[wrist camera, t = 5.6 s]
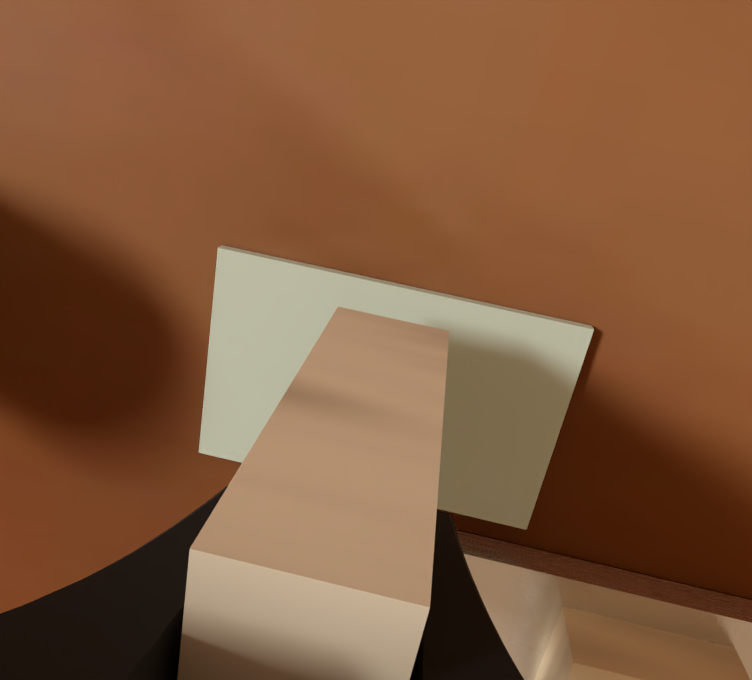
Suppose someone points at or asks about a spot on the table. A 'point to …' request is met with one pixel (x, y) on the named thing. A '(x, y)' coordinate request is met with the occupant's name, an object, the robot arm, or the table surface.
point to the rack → (592, 600)
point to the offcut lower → (631, 652)
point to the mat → (463, 376)
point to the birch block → (328, 518)
